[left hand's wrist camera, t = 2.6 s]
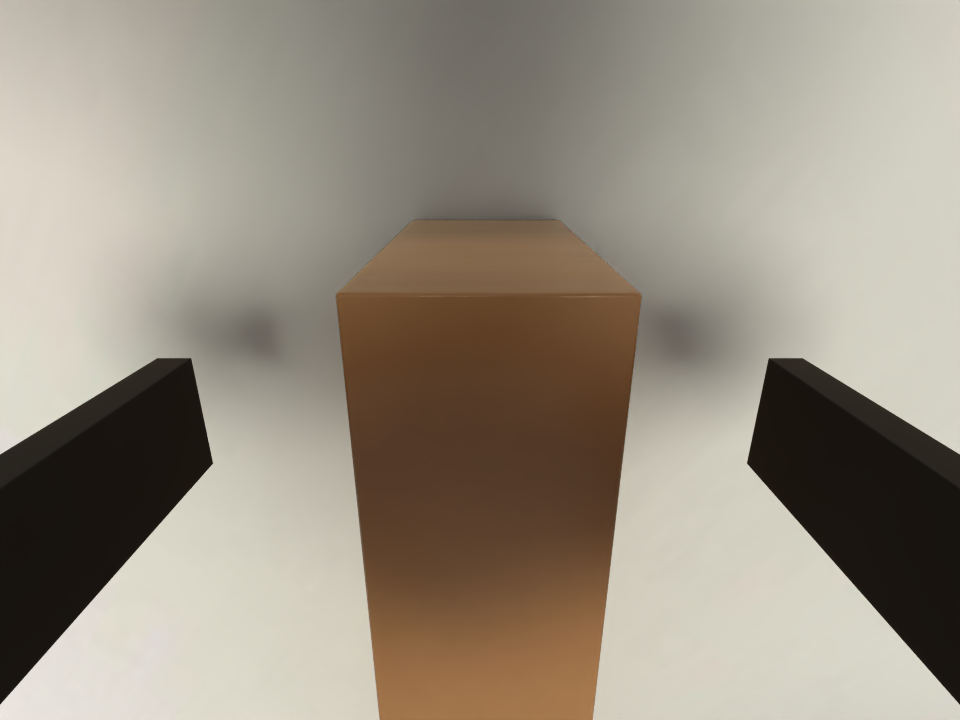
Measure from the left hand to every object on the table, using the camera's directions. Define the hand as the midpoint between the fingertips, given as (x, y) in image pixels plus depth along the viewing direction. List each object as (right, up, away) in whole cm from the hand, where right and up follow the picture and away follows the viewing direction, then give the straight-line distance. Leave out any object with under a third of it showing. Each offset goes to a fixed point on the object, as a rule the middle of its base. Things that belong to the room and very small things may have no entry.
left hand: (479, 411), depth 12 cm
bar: (0, -7, +9) cm, 11 cm away
